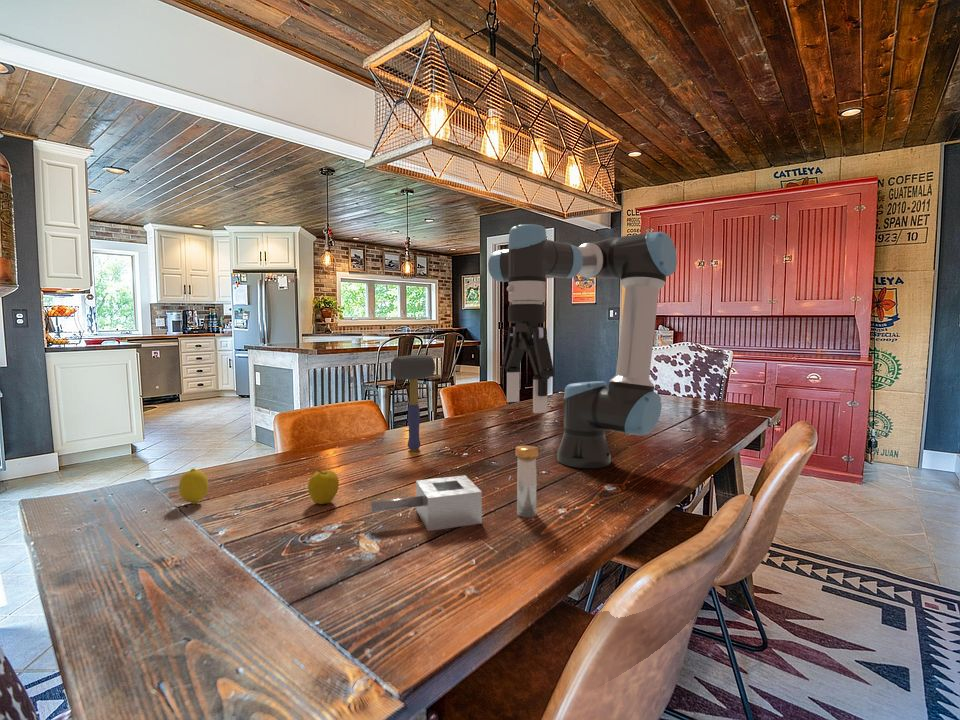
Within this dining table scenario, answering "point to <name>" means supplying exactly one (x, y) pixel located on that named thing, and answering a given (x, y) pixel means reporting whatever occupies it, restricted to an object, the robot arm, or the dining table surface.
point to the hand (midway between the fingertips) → (525, 406)
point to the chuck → (441, 502)
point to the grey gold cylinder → (526, 480)
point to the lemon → (193, 486)
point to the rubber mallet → (413, 388)
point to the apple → (323, 486)
